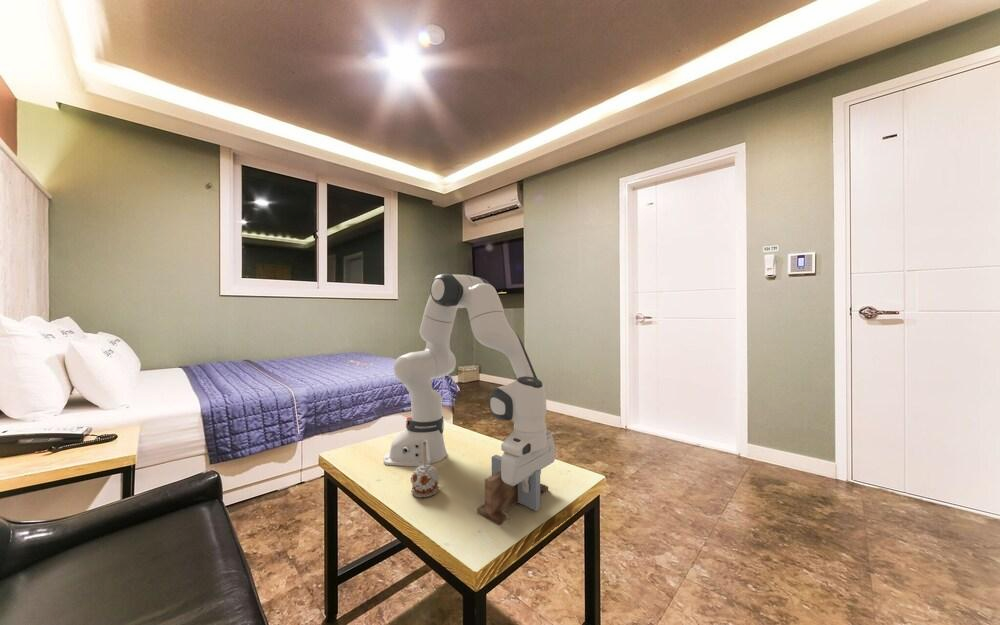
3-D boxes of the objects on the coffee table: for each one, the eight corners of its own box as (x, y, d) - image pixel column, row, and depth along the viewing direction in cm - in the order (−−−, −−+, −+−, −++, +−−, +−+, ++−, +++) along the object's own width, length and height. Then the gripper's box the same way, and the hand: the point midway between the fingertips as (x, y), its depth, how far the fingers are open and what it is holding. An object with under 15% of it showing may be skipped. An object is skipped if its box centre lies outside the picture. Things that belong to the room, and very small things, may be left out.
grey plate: (540, 507, 96) (540, 470, 96) (536, 510, 94) (535, 473, 94) (496, 487, 106) (496, 454, 106) (491, 490, 105) (491, 456, 105)
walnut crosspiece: (499, 524, 89) (499, 485, 89) (477, 512, 95) (476, 475, 95) (548, 490, 106) (548, 457, 106) (526, 482, 111) (526, 450, 111)
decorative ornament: (406, 496, 103) (405, 445, 103) (421, 483, 111) (420, 435, 110) (429, 501, 101) (429, 448, 100) (443, 488, 108) (442, 438, 108)
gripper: (542, 425, 106) (542, 471, 106) (496, 446, 91) (497, 499, 91) (560, 430, 102) (560, 478, 102) (515, 452, 87) (516, 508, 87)
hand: (530, 488), depth 97 cm, fingers closed on grey plate, 2 cm apart
